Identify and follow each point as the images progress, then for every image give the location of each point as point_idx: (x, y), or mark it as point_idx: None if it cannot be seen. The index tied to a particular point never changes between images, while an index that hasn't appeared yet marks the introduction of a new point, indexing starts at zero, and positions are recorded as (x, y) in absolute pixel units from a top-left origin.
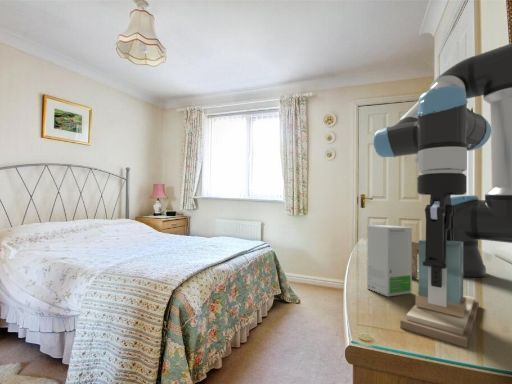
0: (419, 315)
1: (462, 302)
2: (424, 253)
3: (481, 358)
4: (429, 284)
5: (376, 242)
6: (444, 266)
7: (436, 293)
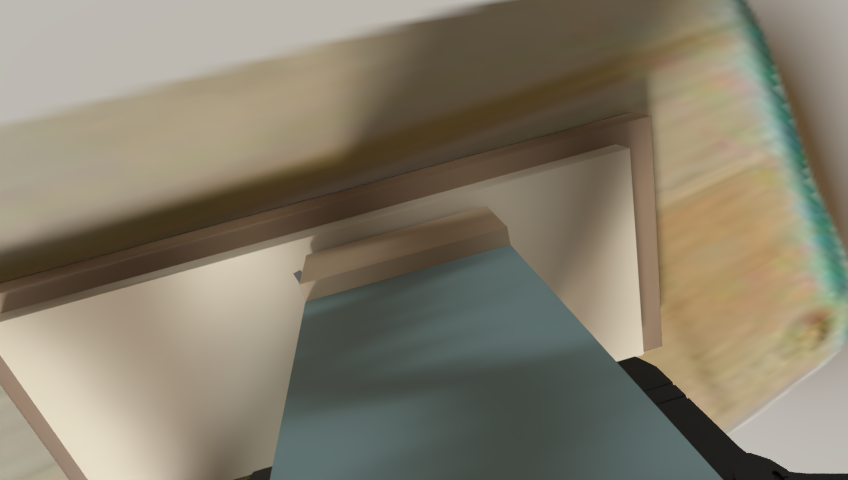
0: (608, 324)
1: (443, 252)
2: None
3: (679, 43)
4: None
5: None
6: (758, 471)
7: None
